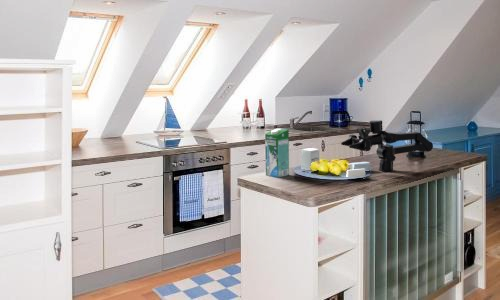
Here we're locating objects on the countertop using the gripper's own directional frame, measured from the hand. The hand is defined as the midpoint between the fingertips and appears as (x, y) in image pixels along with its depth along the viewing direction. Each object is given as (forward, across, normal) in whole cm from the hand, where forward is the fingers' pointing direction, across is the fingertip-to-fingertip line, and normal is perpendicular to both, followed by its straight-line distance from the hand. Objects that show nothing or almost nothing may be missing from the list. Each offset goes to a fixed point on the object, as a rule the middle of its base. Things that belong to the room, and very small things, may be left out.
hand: (345, 145), depth 256 cm
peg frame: (+1, +5, +16) cm, 17 cm away
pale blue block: (-10, -3, +17) cm, 20 cm away
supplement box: (+16, -14, +15) cm, 26 cm away
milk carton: (+35, -12, +13) cm, 40 cm away
